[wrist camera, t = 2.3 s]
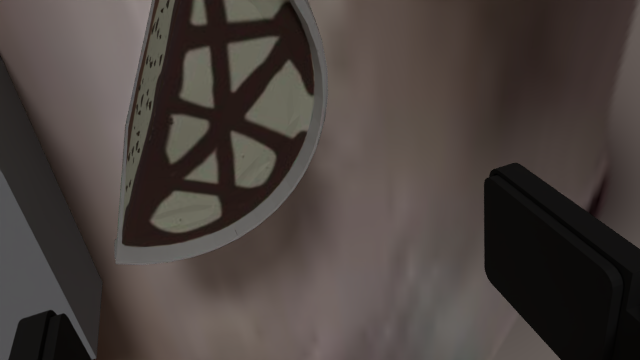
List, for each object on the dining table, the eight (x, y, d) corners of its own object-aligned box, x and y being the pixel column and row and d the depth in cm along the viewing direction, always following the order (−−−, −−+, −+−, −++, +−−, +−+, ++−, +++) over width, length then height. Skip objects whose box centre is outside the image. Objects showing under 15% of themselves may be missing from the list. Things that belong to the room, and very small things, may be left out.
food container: (237, 173, 29) (277, 291, 21) (119, 152, 27) (112, 276, 19) (310, -59, 25) (399, -26, 16) (175, -111, 22) (200, -103, 14)
